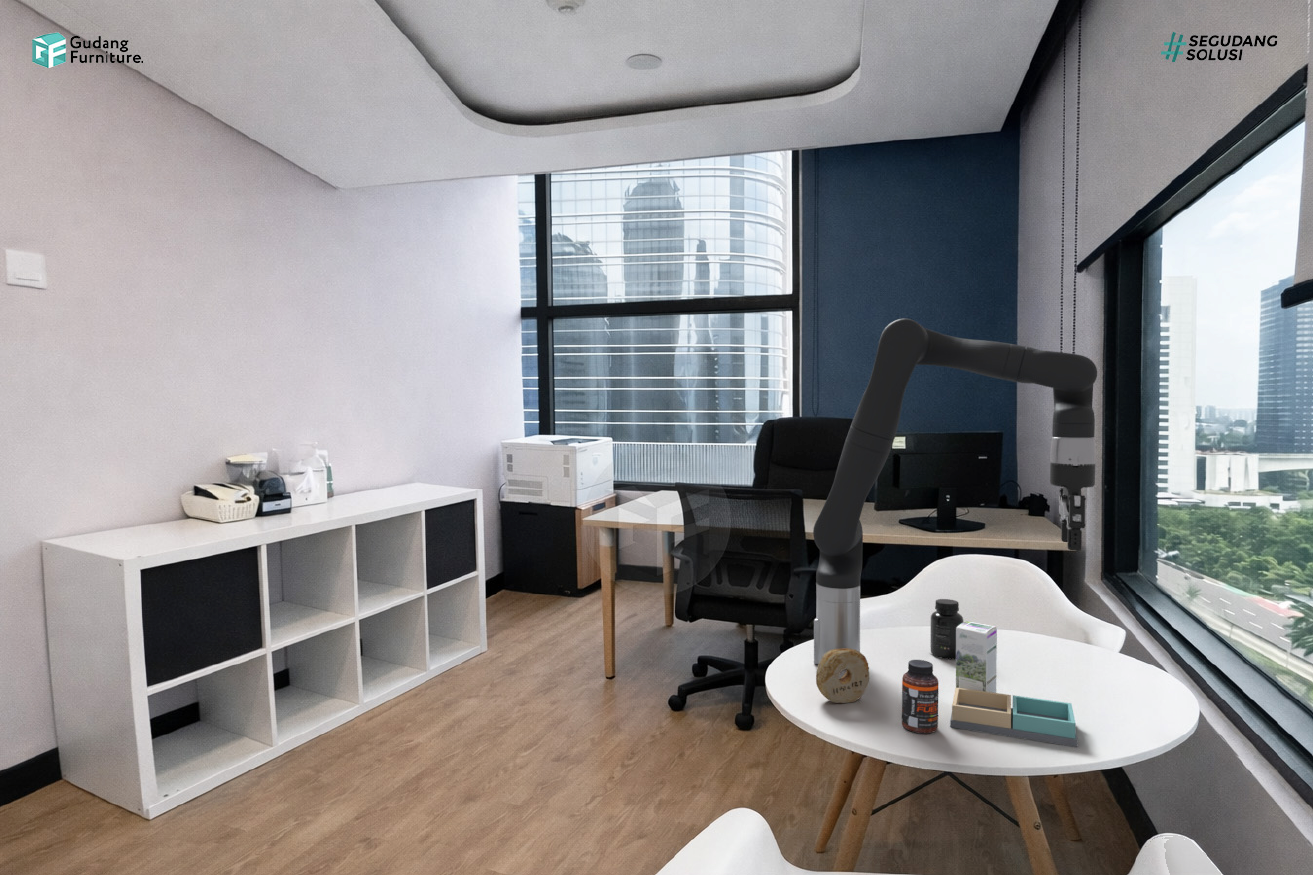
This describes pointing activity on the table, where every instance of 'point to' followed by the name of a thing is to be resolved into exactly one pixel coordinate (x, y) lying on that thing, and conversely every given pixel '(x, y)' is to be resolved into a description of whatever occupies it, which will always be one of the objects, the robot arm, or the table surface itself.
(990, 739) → the table surface
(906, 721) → the supplement bottle
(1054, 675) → the table surface
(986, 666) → the syrup box
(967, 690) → the teal and wood tray
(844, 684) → the stone disc
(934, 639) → the supplement bottle
